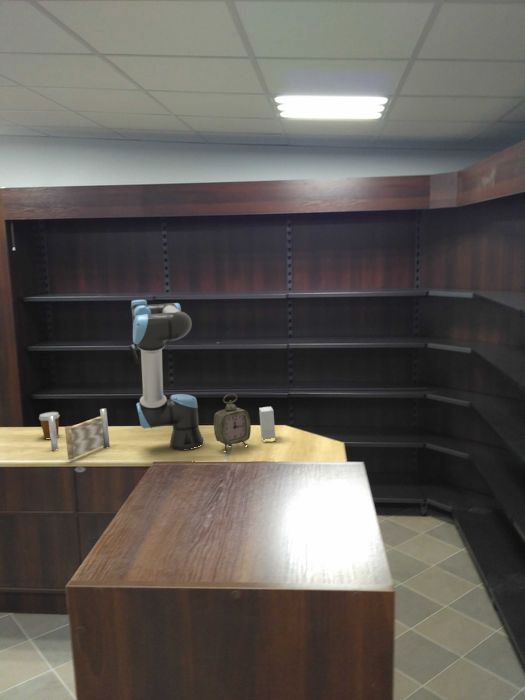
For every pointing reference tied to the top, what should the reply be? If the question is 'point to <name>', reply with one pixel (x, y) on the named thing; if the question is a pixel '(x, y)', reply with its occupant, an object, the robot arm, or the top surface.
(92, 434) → the gate
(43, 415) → the disposable coffee cup
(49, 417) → the post
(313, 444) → the top surface
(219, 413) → the tabletop clock
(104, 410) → the hinge post
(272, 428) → the skincare box
